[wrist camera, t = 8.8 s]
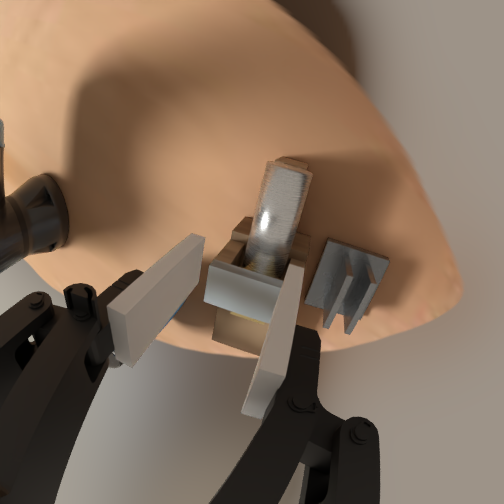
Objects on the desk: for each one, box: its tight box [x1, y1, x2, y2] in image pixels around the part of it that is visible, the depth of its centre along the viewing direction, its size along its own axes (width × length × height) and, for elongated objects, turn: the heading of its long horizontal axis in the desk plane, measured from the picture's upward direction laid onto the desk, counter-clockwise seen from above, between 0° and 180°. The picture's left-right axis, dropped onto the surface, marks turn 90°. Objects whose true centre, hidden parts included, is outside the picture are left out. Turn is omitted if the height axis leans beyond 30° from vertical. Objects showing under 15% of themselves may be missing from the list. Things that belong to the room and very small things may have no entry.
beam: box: [204, 157, 310, 356], centre depth 29 cm, size 24×8×11 cm, turn 167°
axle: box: [242, 161, 313, 279], centre depth 24 cm, size 10×4×4 cm, turn 167°
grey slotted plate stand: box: [304, 238, 390, 335], centre depth 30 cm, size 8×9×6 cm
